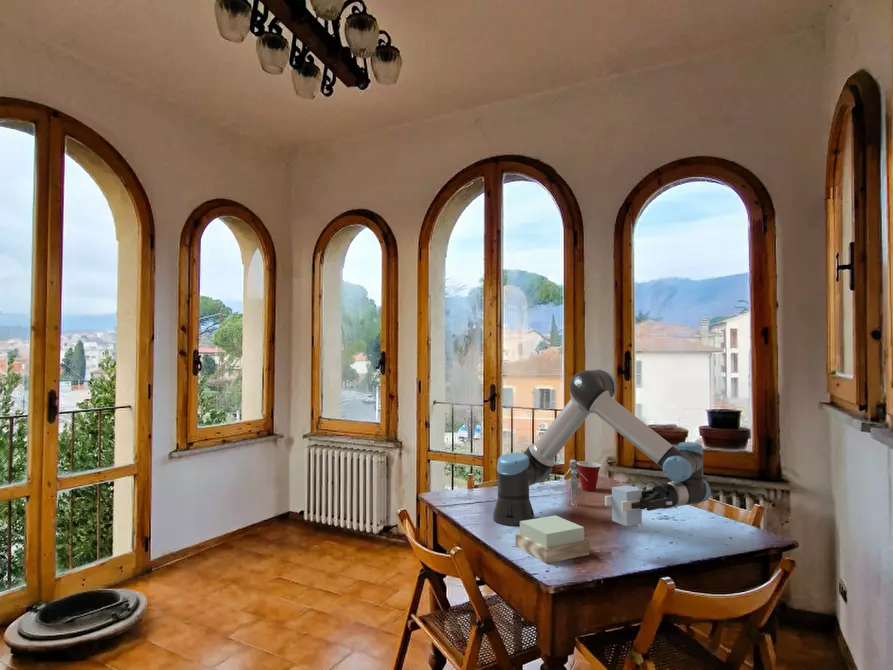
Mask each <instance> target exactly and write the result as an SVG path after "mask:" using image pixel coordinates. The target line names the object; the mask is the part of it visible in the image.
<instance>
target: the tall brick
mask: <svg viewBox="0 0 893 670" xmlns="http://www.w3.org/2000/svg"><path fill="white" fill-rule="evenodd" d="M640 489H641V488H640ZM640 489H638V488H637V487H634V486H630V485H620V486H612V487H611V495H612V505H611V521H612V522H614V523H616V524H617V523H618V524H620V525H622V526H625V527H630V526H631V527H632V526H637V525H642V524H643V522H642V521H643V520H642V519H643V518H642V517H643V515H642V513H643V511H642V510H643V509H640V508H639V509H636V510H630V511H624V512H622V511H621V502H622V501H629V500H635V499H639V502H640V498H642V490H643V489H641V490H640Z"/></svg>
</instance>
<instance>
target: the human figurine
mask: <svg viewBox="0 0 893 670" xmlns="http://www.w3.org/2000/svg"><path fill="white" fill-rule="evenodd" d="M568 474H571V477H570V478H569V479H568V483H569V486H570V490H571V492H570V500H571V503H570V504H571V506H573V507H574V506H576V507H577V506H578V504H577V503H578V502H577V498H578V497H577V495H578V487H579V481H578V480H579V479H578V477H577V475H578V474H579V476H580V475H581V476H582V477H584V476H583V474H581V473H580V472H579V469H578V467H577V460H576V459H570V460H569V469H568V471H567V472H566V473H565V474H564V475H563V477H561V478H560V480H559V482H562V481H563V479H564V478H565V477H567V475H568ZM584 478H585V477H584ZM585 479H586V478H585ZM586 480H587V479H586ZM587 481H588V480H587Z"/></svg>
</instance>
